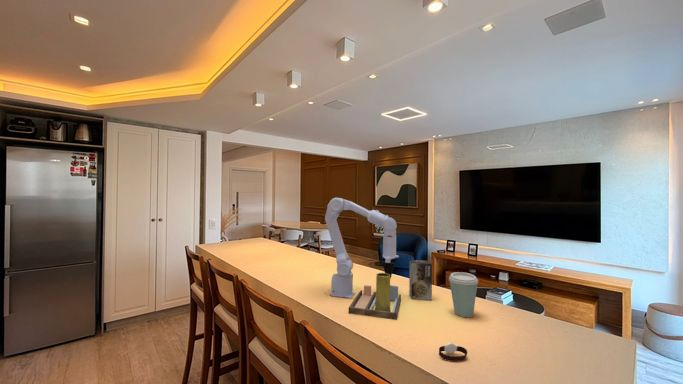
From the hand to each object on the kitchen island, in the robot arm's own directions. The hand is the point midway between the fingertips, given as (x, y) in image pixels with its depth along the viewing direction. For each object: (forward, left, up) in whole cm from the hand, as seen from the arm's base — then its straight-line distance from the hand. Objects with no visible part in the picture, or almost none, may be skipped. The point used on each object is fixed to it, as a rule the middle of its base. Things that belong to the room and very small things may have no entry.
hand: (389, 276), depth 125 cm
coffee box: (+13, +6, -10) cm, 18 cm away
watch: (+22, -42, -10) cm, 49 cm away
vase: (-1, -16, -10) cm, 19 cm away
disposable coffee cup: (+29, -8, -10) cm, 32 cm away
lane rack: (-4, -11, -10) cm, 15 cm away
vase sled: (-1, -11, -10) cm, 15 cm away
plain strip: (-9, -11, -10) cm, 17 cm away
